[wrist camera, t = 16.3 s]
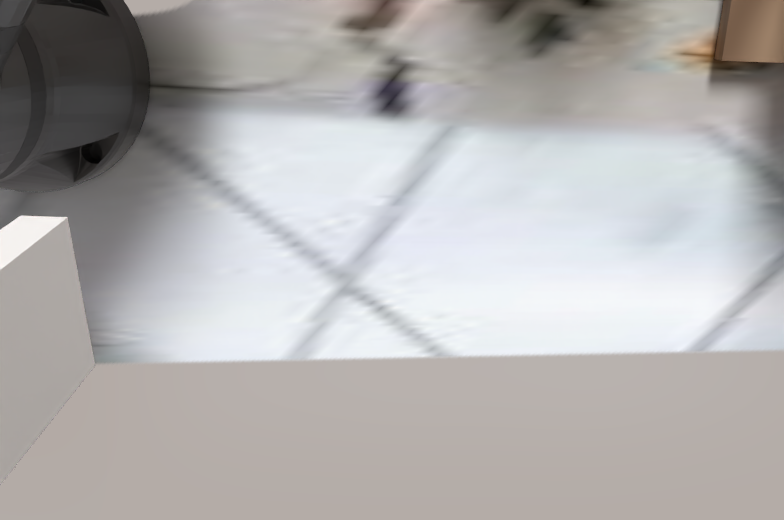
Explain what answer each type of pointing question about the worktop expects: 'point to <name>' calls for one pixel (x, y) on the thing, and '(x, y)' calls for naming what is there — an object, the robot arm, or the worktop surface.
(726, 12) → the walnut board
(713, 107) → the worktop surface
